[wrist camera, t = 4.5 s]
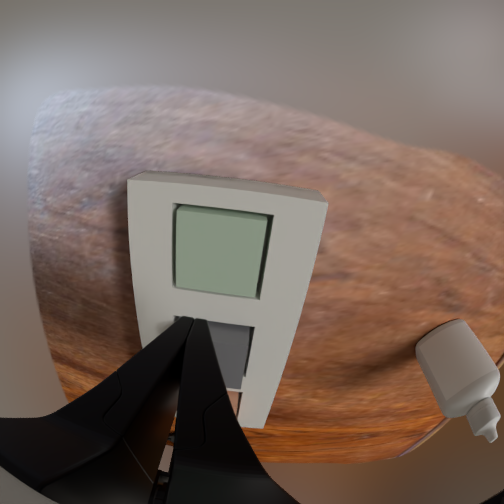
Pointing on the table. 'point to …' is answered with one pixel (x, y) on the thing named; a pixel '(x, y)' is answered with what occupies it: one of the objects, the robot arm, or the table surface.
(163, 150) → the table surface
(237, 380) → the charcoal key
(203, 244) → the sage key
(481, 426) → the eye dropper bottle
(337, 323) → the table surface
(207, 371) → the robot arm
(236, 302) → the keypad frame
